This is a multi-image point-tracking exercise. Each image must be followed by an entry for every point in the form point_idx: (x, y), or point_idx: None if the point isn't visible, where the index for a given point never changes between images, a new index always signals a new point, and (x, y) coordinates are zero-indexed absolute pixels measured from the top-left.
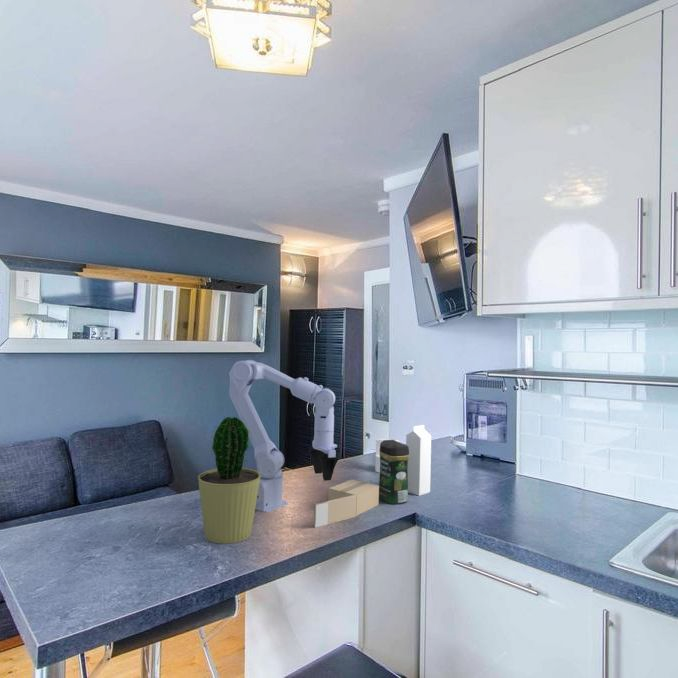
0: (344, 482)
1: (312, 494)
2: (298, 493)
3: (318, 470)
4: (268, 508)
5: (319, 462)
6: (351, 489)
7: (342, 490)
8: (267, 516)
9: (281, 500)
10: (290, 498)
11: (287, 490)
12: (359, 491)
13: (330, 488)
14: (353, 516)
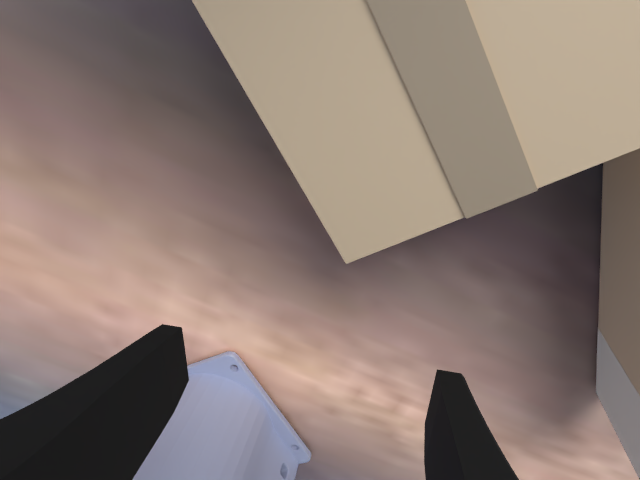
0: (217, 31)
1: (88, 170)
2: (66, 235)
3: (171, 379)
4: (284, 446)
5: (110, 444)
6: (497, 84)
7: (474, 191)
8: (347, 461)
9: (236, 401)
10: (142, 302)
11: (16, 264)
12: (607, 14)
13: (359, 254)
14: None
